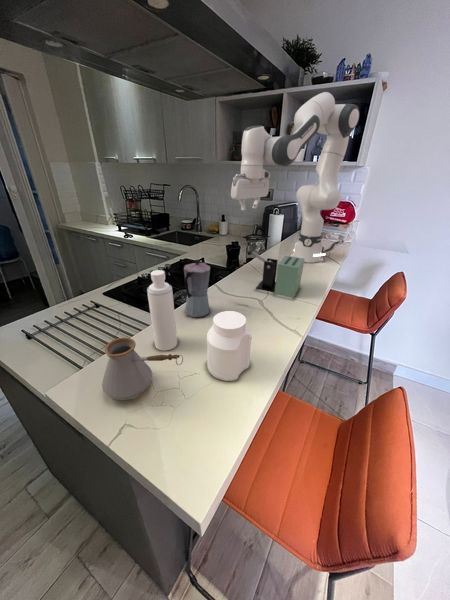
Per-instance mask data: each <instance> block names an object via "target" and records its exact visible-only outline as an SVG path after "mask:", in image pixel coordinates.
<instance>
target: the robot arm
mask: <svg viewBox="0 0 450 600" xmlns="http://www.w3.org/2000/svg"><path fill="white" fill-rule="evenodd" d="M360 114H361V113H360V109H359V106H358V105H357V104H354V103H339V104H338V103H337V104H336V100H335V97H334V95H333V94H332V93H330V92H329V91H323V92H320V93H318V94H316V95H314V96H313V97H311V98H310V99H308V100H307V101H305V102H304V104H302V105H301V106H300V107H299V108H298V109H297V111H296V112H295V114H294V118H293V125H294V129H295V131H294V132H293V133H292V134H287V135H280V136H273V135H271V134H269V133H268V132H267V131H266V129H265V126H264V125H261V124H260V125H259V124H257V125H252V126H248V127H246V128H245V129H244V130H243V134H242V138H241V162H240V173H236V174H235V175H234V176H233V178H232V183H231V189H230V198H231V200H234V201H235V200H236V201H238V202H239V205H240V210H241V211H243V212H244V211H247V205H246V204H245V203H246V200H247V199H248V200H249V199H253V200H254V201H253V203H252V209H253V210H257V209H258V205H259V203H260V201H261V198H265V197H268V194H269V189H270V188H269V187H270V177H271V173H270V172H269V171H268V170H266V169H265V168H264V165H270V166H271V165H272V166H273V165H274V166H282V167H288V166H290V165H292V164H293V163H294V161H295V160H296V159H297V157H298V155H299V154H300V152H301V151H302V150H303V149H304V148H305V146H306V145H307V144H308V143H309V142H310V141H311V140H312V139H313V138H314V136H315V135H326V140H325V142H324V144H323V146H322V149H321V151H320V155H319V157H318V161H317V164H316V167H315V173H316V175H317V176H318V177H317V178H318V181H317V184H312V183H311V184H304V185H302V186H300V187H299V188H298V189H297V191H296V195H295V196H296V197H295V198H296V201H297V203H298V204H299V207H300V210H301V227H300V233H299V236H298V240H297V242H295V244H294V248H293V252H292V253H290V255H289V256H292V257H298V258H304V263H309V264H311V263H312V264H313V263H321V262H324V261H325V260H324V256H326V252H328V251H330V250H331V249H332V248H334V246H335V244H337V243H340V242H341V243H344V240H342V241H340V240H337V241H335V242H333V243H332V245H331V246H330V248H327V249H325V247H324V246H323V245H322V243H321V242H322V238H323V235H322V232H323V229H324V228H323V227H324V218H323V217H322V214H321V213H320V210H321V211H330V210H334V209H335V208H337V207H338V206H339V204H340V202H341V199H342V198H341V196H342V194H341V191H340V189H339V187H338V176H339V172H340V170H341V167H342V164H343V161H344V158H345V155H346V152H347V149H348V144H349V140H350V135H351V134H352V132H354V130H355V128H356V127H357V125H358V123H359V121H360ZM324 249H325V250H324ZM324 252H325V253H324Z"/></svg>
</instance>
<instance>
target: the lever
mask: <svg viewBox="0 0 450 600" xmlns="http://www.w3.org/2000/svg"><path fill="white" fill-rule="evenodd" d="M255 251H256V249H254V248H252V249H250V250H249V251H248V252H247V255H248V256H251V255H252V256H254V257H255V258H257V259H258V260H260V261H261V262H263V263H264V261H267V258H266V259H265V258H264V257H263V256H261V255H260V254H258V253H256V252H255ZM268 262H272V261H271V260H270V261H268Z"/></svg>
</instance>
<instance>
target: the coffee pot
mask: <svg viewBox="0 0 450 600" xmlns="http://www.w3.org/2000/svg"><path fill="white" fill-rule="evenodd" d="M136 346H137V345H136V341H135V340H134V338H131V337H119V338H114V339H112V340H111V341H110V342H108V343H107V344H106V345H105V346H104V347H105V348H104V353H105V354H106V356H107V357H108V360H107V364H106V368H105V371H104V374H103V379H102V382H101V388H102V391H103V392H104V394H105V395H106V396H108V397H109V398H111V399H112V400H115V401H116V400H117V401H128V400H132V399H134V398H137V397H138V396H140V395H141V394H143V393H145V391H146V390H147V389H148V388H149V386H150V384H151V383H152V379H153V371H152V369H151V367H150V366H149V365H148V364H147V362H146V361H148V362H162V361H167V360H169V361H172V360H175V364H176V365H177V366H181V365H182V364H183V362H184V356H183V355H182V354H172V353H169V354H156V355H150V356H140V354H138V352H136V350H135V348H136ZM180 357H181V363H178V359H180Z"/></svg>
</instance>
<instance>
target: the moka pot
mask: <svg viewBox="0 0 450 600" xmlns="http://www.w3.org/2000/svg"><path fill="white" fill-rule="evenodd" d="M183 273H184V274H183V275H184V280H183V281H184V287H185V290H186V300H185V306H184V307H185V308H184V312H185V314H186V315H187V316H189V317H191V318H201V317H205V316H207V315H208V314H209V313H210V302H209V295H208V290H209V282H210V275H211V266H210V265H208V264H207V263H206V262H200V259H195V260H194V262H193V263H188V264H185V265H184V266H183Z"/></svg>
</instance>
